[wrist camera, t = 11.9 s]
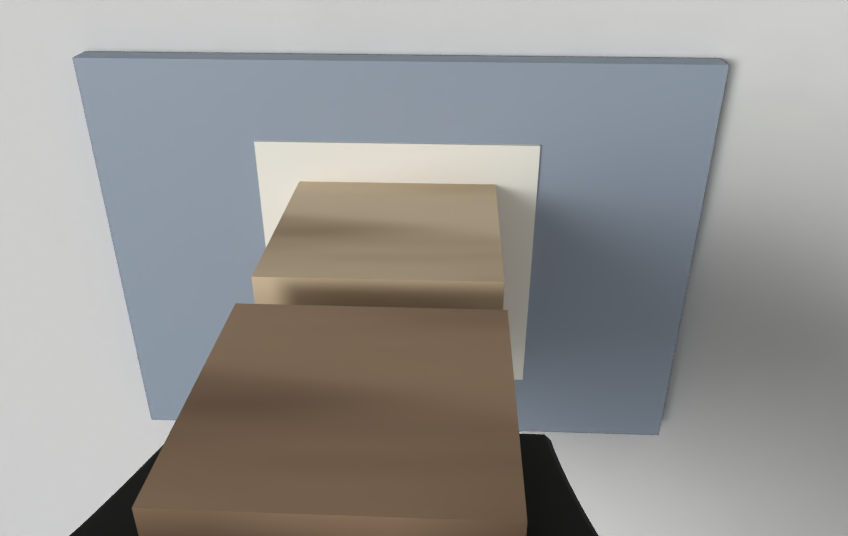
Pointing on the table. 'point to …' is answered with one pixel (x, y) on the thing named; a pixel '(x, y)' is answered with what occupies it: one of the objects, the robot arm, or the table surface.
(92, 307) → the table surface
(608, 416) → the board
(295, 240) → the oak cube
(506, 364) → the walnut cube
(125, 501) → the robot arm
